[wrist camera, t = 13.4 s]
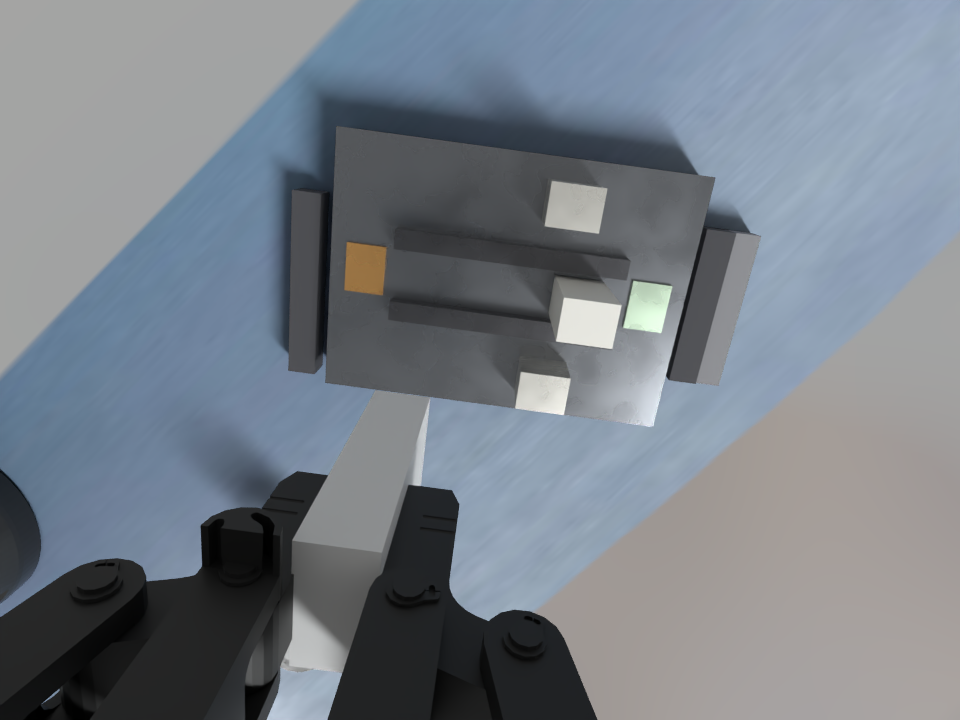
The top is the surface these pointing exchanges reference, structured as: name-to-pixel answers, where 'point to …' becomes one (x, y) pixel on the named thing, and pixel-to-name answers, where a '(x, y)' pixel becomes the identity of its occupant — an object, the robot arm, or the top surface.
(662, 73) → the top surface
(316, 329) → the dark gray bar
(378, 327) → the panel
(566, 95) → the top surface
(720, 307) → the narrow gray bar
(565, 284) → the lever
